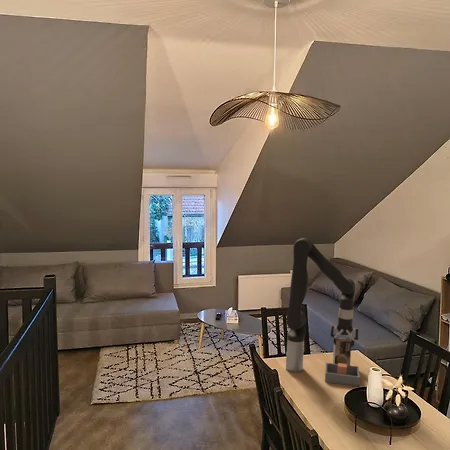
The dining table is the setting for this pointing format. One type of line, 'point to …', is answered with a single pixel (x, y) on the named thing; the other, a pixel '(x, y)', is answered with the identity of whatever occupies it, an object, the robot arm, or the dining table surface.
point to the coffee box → (342, 351)
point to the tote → (348, 379)
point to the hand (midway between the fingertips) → (343, 345)
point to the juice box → (342, 368)
